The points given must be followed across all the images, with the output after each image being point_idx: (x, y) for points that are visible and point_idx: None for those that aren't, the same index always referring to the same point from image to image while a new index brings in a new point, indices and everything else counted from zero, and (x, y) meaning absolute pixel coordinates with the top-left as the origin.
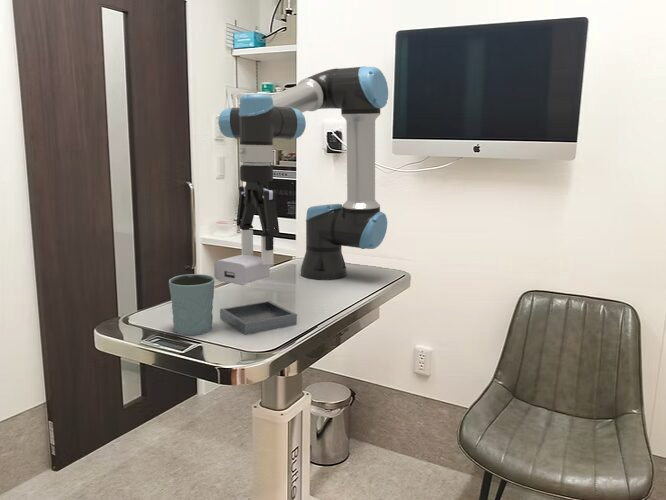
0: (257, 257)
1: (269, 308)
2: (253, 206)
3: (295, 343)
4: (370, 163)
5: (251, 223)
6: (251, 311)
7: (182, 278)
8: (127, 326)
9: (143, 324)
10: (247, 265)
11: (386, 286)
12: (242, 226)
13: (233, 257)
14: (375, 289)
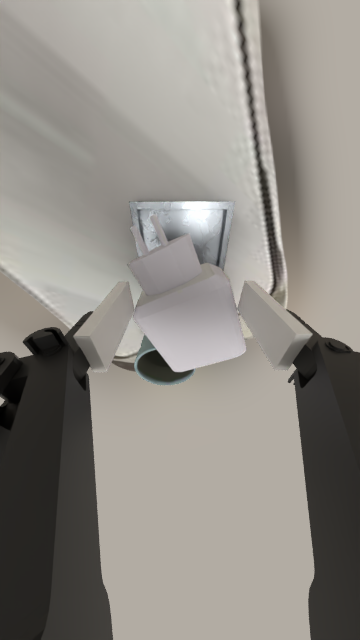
0: (201, 306)
1: (145, 209)
2: (70, 615)
3: (283, 253)
4: None
5: (67, 367)
6: (149, 249)
7: (139, 367)
8: (133, 359)
9: (133, 350)
10: (243, 345)
11: None
12: (88, 385)
13: (170, 347)
14: None
